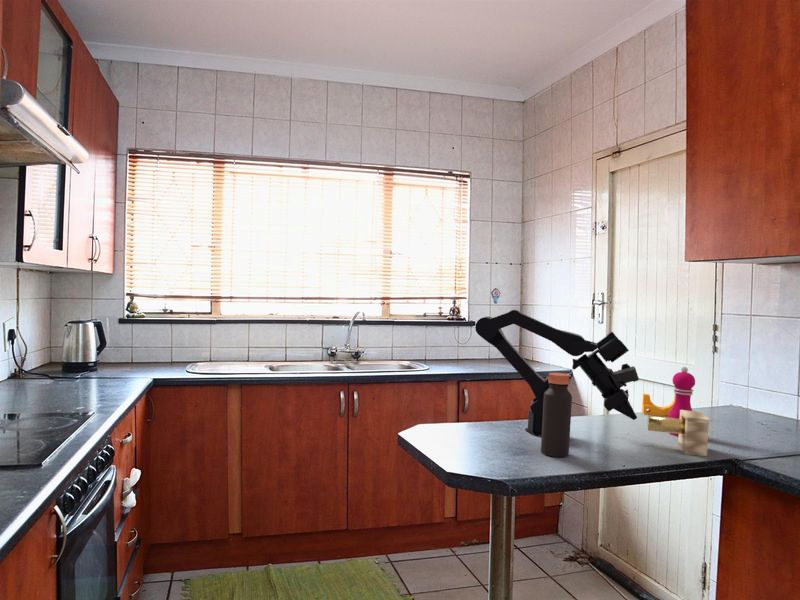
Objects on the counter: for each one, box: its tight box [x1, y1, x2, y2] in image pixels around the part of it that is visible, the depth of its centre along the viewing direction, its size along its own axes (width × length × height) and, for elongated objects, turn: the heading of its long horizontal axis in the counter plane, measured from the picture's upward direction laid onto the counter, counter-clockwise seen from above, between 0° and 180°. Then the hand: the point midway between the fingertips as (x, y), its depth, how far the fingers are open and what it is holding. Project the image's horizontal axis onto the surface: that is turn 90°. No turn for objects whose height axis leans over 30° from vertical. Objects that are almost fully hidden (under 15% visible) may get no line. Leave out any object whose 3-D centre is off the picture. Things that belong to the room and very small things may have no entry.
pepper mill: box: [667, 366, 696, 437], centre depth 169 cm, size 7×7×20 cm
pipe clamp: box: [641, 393, 675, 417], centre depth 196 cm, size 12×4×6 cm, turn 73°
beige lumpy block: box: [677, 410, 710, 457], centre depth 153 cm, size 5×10×10 cm, turn 164°
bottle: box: [540, 372, 573, 458], centre depth 143 cm, size 7×7×20 cm
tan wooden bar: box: [646, 415, 685, 434], centre depth 154 cm, size 13×4×4 cm, turn 74°
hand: (635, 418), depth 157 cm, fingers closed
